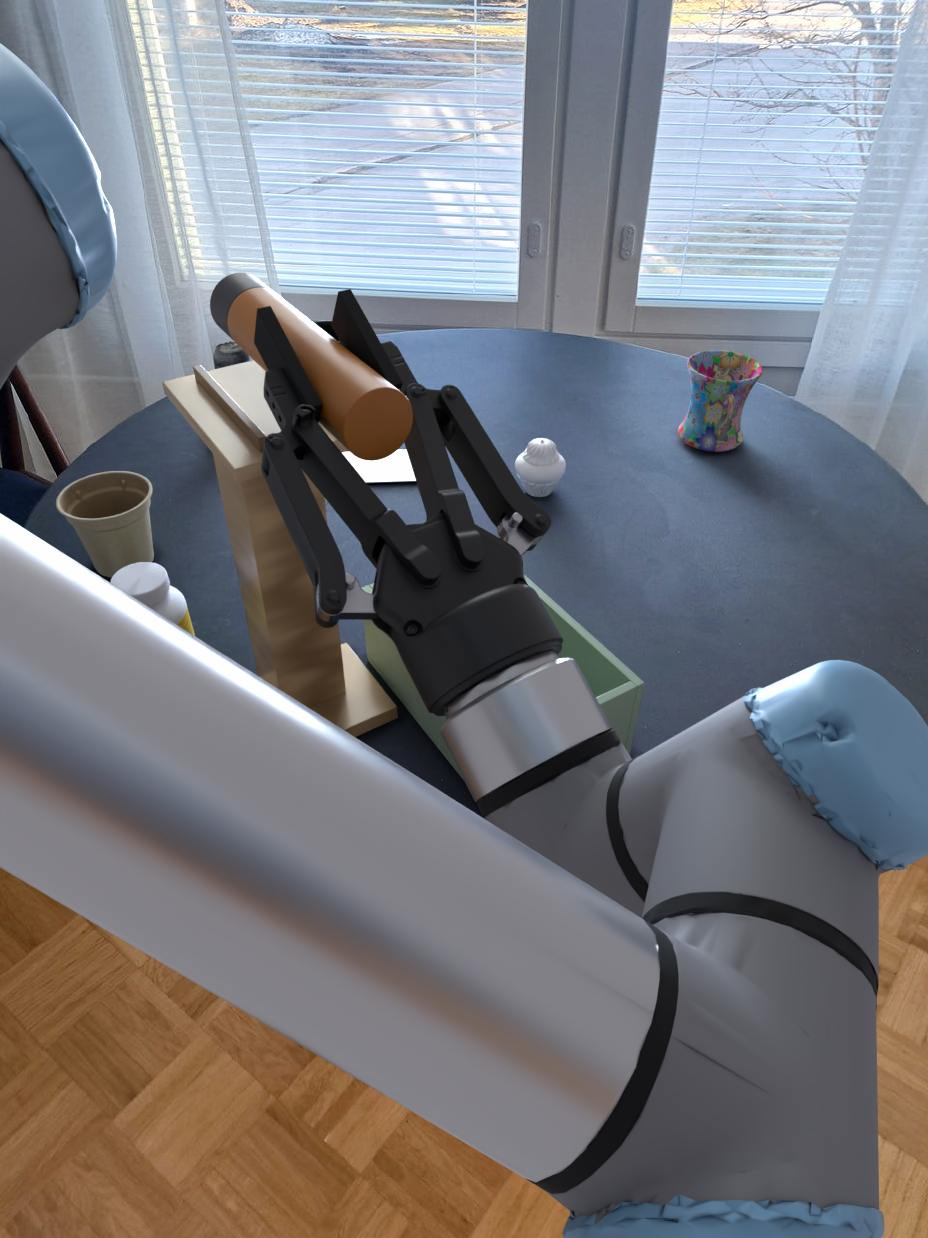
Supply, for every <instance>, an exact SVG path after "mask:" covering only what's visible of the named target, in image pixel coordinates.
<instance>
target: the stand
mask: <svg viewBox="0 0 928 1238" xmlns="http://www.w3.org/2000/svg"><path fill="white" fill-rule="evenodd" d="M192 370H193V373H192V374H189V375H184V376H181V377H180V376H179V377H176V378H172V379H168V380H163V381H162V382H161V384H162V389H163V393H164V395H165V396H166V398H167V399H168V400H169V401H170V402H171V404H172V405H173V406H174V407H175V408H176V410H177V411H178V412H179V413H180V415H181V416H182V417H183V418H184V420H185V421H186V422H187V423H188V424H189V426H191V429H193V431H194V432H195V433H196V434H197V436H198V437H199V438H200V439H201V440H202V442H203V443H204V444H205V445H206V447H207V448H208V449H209V451H210V452H211V453H212V456H213V462H214V467H215V471H216V477H217V481H218V486H219V491H220V496H221V501H222V506H223V511H224V516H225V522H226V525H227V526H226V527H227V530H228V535H229V540H230V545H231V551H232V555H233V560H234V565H235V569H236V570H235V571H236V575H237V579H238V585H239V590H240V594H241V601H242V604H243V610H244V615H245V620H246V624H247V629H248V635H249V639H250V644H251V650H252V654H253V658H254V663H255V669H256V673H257V674H256V675H257V676H259V677H260V678H262V679H263V680H265V681H267V682H268V683H270V684H271V685H273V686H275V687H276V688H278V689H279V690H281V691H282V692H284V693H286V694H287V695H289V696H290V697H292V698H294V699H295V700H297V701H298V702H300V703H302V704H303V705H305V706H306V707H308V708H309V709H311V710H313V711H314V712H316V713H317V714H319V715H321V716H322V717H324V718H325V719H327V720H328V721H330V722H332V723H333V724H335V725H336V726H338V727H340V728H341V729H343V730H344V731H346V732H347V733H349V734H351V735H352V736H354V737H355V738H357V737H358V736H361V735H363V734H365V733H367V732H370V731H372V730H375V729H376V728H379V727H381V726H383V725H385V724H388V723H390V722H392V721H394V720H397V719H398V718H399V716H398V715H399V714H398V706H397V704H396V703H395V701H393V700H392V698H391V697H390V696H389V695H388V693H387V692H386V691H385V689H384V688H383V687H382V685H380V683H379V682H378V680H377V679H376V678H375V676H373V674H372V673H371V671H370V670H369V669H368V668H367V667H366V665H365V664H364V663H363V662H362V660H361V658H359V656H358V655H357V654H356V653H355V651H354V650H353V649H352V647H351V646H350V645H349V644H348V643H347V642H344V643H341V634H340V633H341V632H340V626H339V622H338V623H337V624H336V625H335V626H334V627H331V628H324V627H322V626H320V625H319V624H318V623H317V622H316V619H315V610H314V590H313V584H312V582H311V580H310V578H309V575H308V573H307V571H306V569H305V566H304V564H303V562H302V560H301V558H300V555H299V553H298V551H297V549H296V547H295V544H294V542H293V540H292V538H291V535H290V533H289V531H288V529H287V527H286V524H285V522H284V520H283V518H282V516H281V513H280V511H279V509H278V507H277V504H276V502H275V500H274V498H273V496H272V493H271V491H270V489H269V487H268V485H267V482H266V480H265V478H264V476H263V473H262V471H261V463H262V456H263V448H264V441H265V438H266V437H267V436H268V435H269V434H271V433H279V432H280V431H281V429H280V427H279V426H278V424H277V422H276V420H275V418H274V416H273V414H272V411H271V410H270V408H269V405H268V404H267V402H266V400H265V398H264V390H263V388H264V379H265V372H266V371H265V370H264V369H263V368H262V367H261V366H259V365H258V364H257V363H256V362H255V361H254V360H253V359H252V360H250V361H248V362H244V363H240V364H236V365H231V366H227V367H223V368H219V369H215V368H213V369H210V370H206V369H205V368H204V367H203V365H202V364H199V365H194V366H193V367H192ZM318 424H319V425H320V426H321V428H322V429H323V430H324V431H325V433H326V434H327V435H328V436H329V437H330V439H331V440H332V441H333V442H334V444H335V445H336V446H337V447H338V449H339V450H340V451H341V452H350V451H349V450H348V449H347V448H346V447H345V446H344V445H343V444H342V443H340V442H339V441H338V440H337V439H336V438H335V437H334V436H333V435H332V434H331V433H330V432H329V431H328V430H327V429H326V428H325V427H324V426H323V425H322V424H320V423H318ZM302 471H303V470H302ZM303 473H304V471H303ZM304 476H305V478H306V480H307V482H308V484H309V486H310V488H311V491H312V493H313V495H314V497H315V499H316V501H317V503H318V506H319V508H320V510H321V512H322V514H323V516H324V519H325V521H326V523H327V524H328V518H327V510H326V499H325V498H324V496H323V495H322V494H321V493H320V491H319V490H318V489H317V488H316V486H315V485H314V484H313V483H312V481H311V480H310V479H309V478H308V476H307V475H306V474H305V473H304Z"/></svg>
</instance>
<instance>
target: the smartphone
mask: <svg viewBox="0 0 928 1238" xmlns="http://www.w3.org/2000/svg"><path fill="white" fill-rule="evenodd" d="M342 453H343V455H344V456H345V457H346V458H347V460H348V461H349V462H350V463H351V465H352V466H353V467H354V468H355V470H356V471H357V472H358V473H359V474H360V476H361V477H362V478H363V479H364V481H365V482H366V483H367V484H368V485H385V484H414V483H415V484H417V482H416V479H415V476H414V472H413V469H412V466H411V463H410V459H409V456H408V453H407V450H406V449H398V450H397V451H395V452H394V453H393V454H391V455H390V456H388V457H386V458H383V459H380V460H375V461H368V460H363V459H360V458H358V457H356V456H354V455H353V454H352V453H351V452H350V451H345V452H342Z"/></svg>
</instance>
